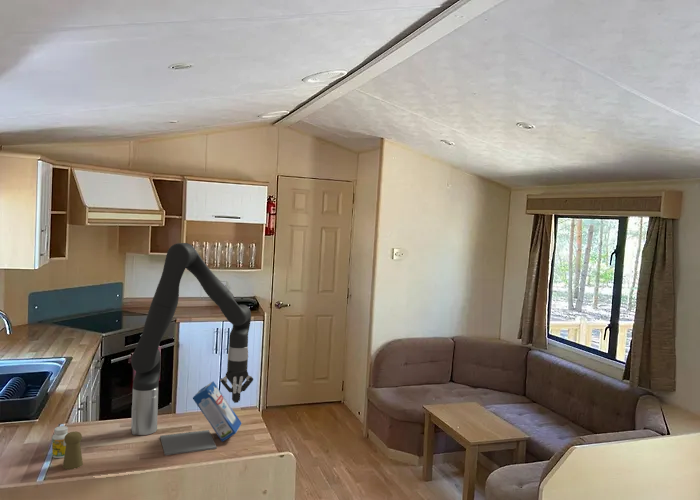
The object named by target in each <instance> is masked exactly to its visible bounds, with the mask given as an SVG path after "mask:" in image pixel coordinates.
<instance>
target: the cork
mask: <svg viewBox="0 0 700 500" xmlns="http://www.w3.org/2000/svg"><path fill="white" fill-rule="evenodd" d="M82 439H83V434H82V433H81V432H80V431H69V432H68V434H66V436H65V443H66V449H65V455H64V458H63V462H62V468H63V469H64V468H65V470H75V469H74V468H76V469H79V468H81V467H82V466H83V465H84V464H83V455H82V448H81V447H82V446H81V441H82ZM80 466H81V467H80ZM78 467H79V468H78Z"/></svg>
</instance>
